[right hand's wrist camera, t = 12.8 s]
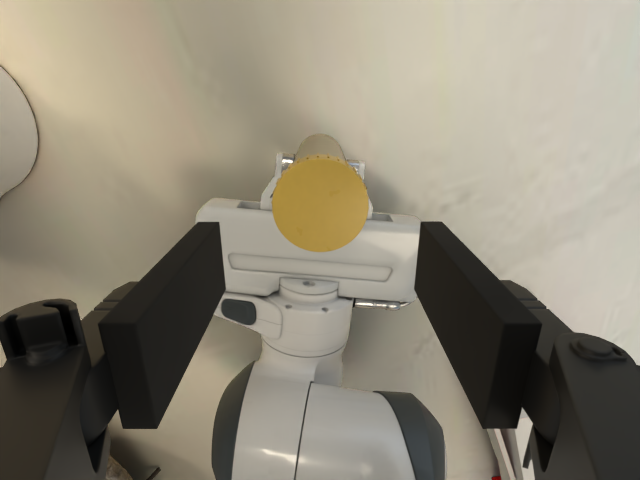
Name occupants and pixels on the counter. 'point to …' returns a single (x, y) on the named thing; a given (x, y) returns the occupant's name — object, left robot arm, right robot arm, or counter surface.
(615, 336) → the counter surface
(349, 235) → the lid
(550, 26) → the counter surface
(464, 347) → the right robot arm
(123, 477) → the fossil
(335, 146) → the beige cylinder
